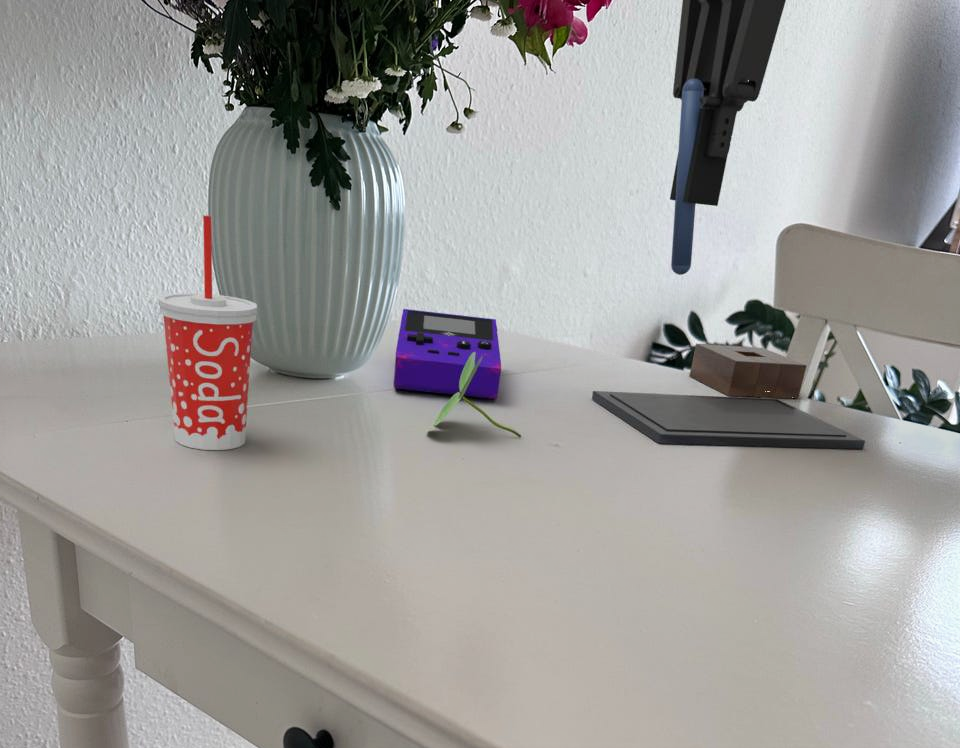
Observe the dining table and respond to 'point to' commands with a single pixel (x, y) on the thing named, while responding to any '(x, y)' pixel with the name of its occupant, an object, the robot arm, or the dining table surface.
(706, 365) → the pen stand
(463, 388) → the seedling
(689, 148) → the stylus
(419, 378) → the handheld gaming console
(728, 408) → the tablet
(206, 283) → the beverage cup
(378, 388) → the dining table surface
